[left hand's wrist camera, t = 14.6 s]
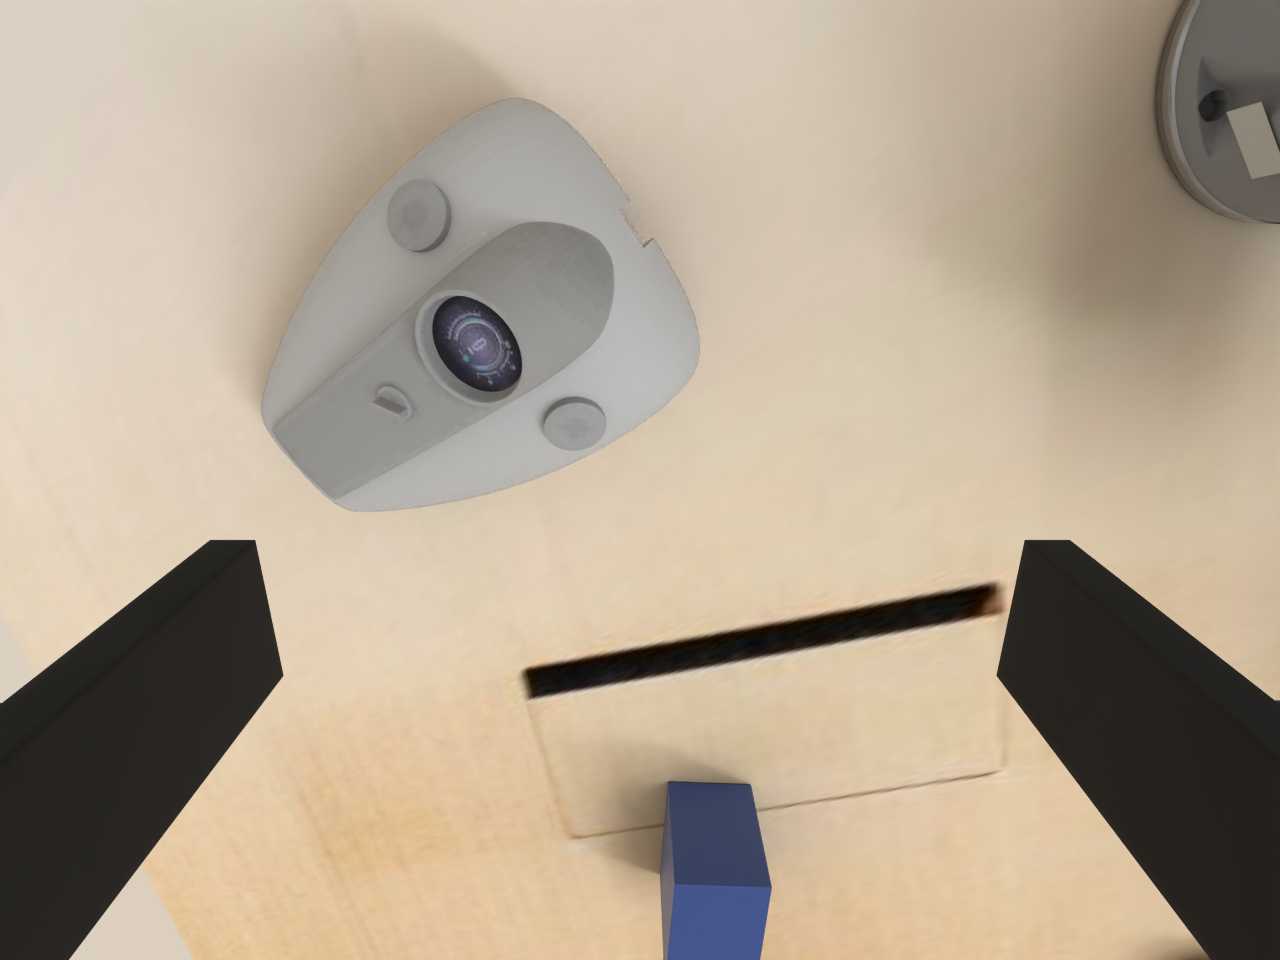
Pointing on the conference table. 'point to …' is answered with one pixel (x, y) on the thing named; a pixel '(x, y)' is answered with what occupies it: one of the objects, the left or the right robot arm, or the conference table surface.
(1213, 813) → the left robot arm
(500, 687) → the conference table surface
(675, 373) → the projector
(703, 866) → the brick
